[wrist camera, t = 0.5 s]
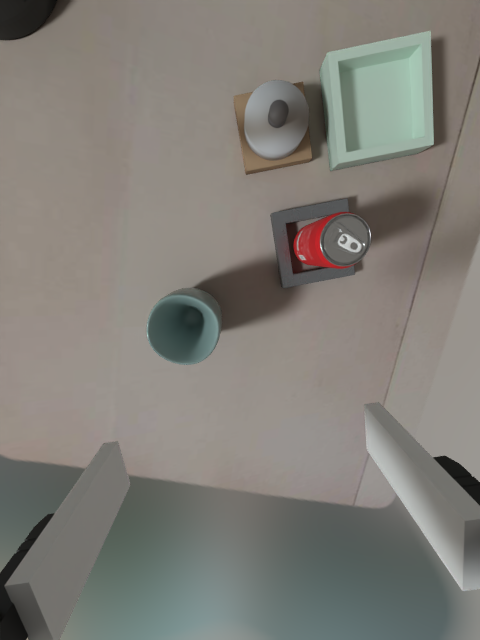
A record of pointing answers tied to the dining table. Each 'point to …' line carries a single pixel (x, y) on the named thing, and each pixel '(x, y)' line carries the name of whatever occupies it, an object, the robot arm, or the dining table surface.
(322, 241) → the beverage can
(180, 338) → the cup
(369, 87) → the tray
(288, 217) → the frame
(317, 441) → the dining table surface
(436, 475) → the robot arm
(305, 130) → the service bell
